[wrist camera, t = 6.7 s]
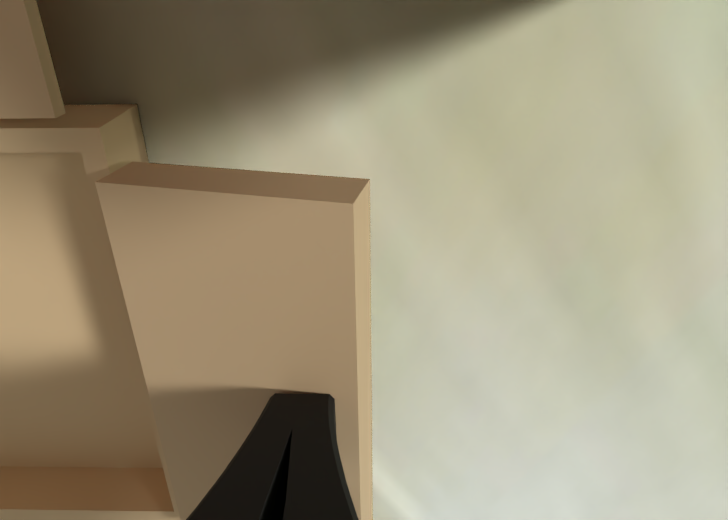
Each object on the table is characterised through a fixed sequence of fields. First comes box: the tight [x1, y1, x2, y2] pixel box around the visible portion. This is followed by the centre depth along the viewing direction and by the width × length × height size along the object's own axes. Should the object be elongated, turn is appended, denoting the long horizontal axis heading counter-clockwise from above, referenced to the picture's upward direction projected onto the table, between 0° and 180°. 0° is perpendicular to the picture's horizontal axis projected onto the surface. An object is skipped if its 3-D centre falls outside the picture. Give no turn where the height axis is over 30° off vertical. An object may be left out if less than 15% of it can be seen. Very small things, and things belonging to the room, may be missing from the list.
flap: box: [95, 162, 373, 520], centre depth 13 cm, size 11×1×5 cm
